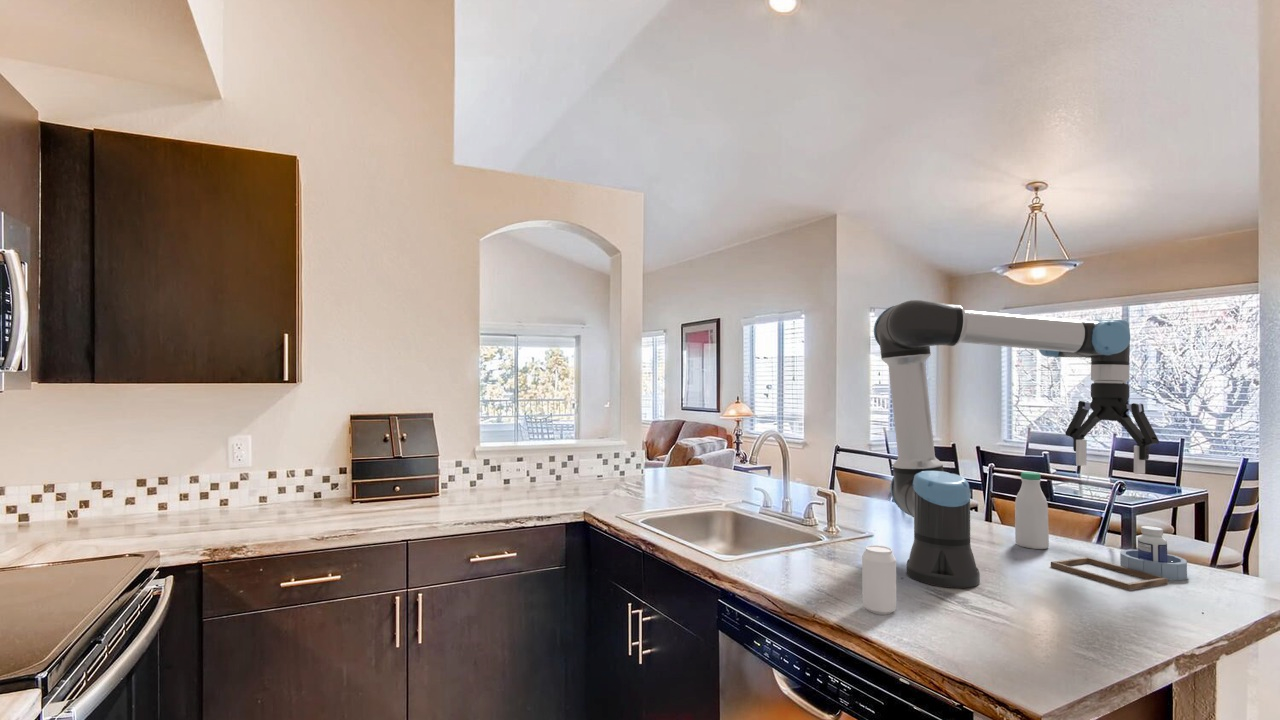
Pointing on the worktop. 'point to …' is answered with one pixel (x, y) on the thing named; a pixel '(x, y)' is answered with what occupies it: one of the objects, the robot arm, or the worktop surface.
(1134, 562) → the bowl
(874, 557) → the beverage can
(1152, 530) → the pill bottle
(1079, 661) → the worktop surface
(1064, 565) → the empty rectangular wooden frame
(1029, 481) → the milk bottle
